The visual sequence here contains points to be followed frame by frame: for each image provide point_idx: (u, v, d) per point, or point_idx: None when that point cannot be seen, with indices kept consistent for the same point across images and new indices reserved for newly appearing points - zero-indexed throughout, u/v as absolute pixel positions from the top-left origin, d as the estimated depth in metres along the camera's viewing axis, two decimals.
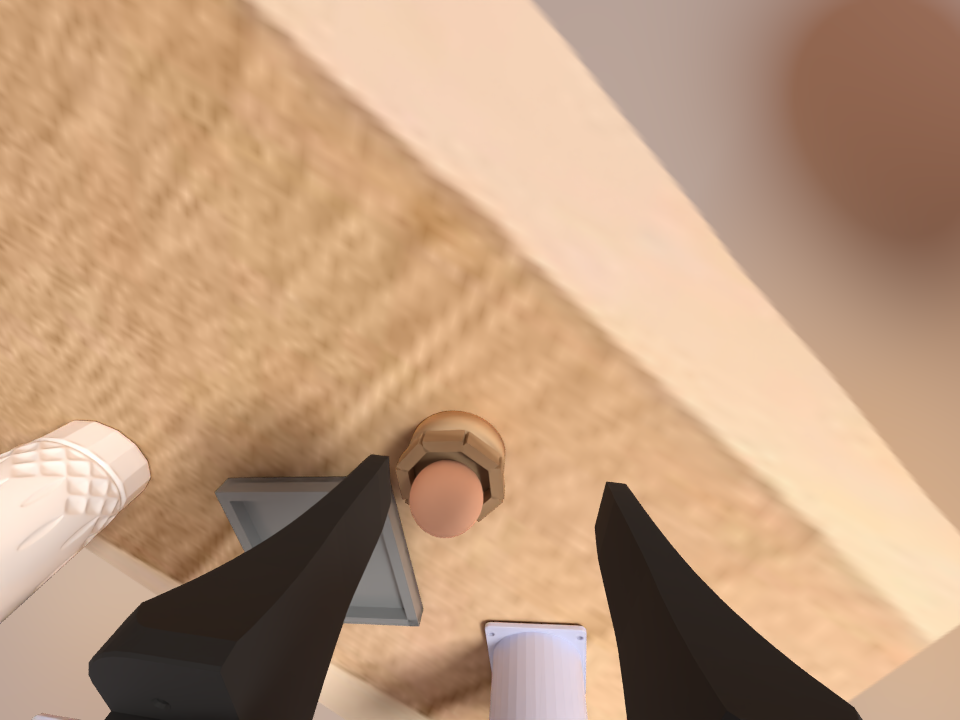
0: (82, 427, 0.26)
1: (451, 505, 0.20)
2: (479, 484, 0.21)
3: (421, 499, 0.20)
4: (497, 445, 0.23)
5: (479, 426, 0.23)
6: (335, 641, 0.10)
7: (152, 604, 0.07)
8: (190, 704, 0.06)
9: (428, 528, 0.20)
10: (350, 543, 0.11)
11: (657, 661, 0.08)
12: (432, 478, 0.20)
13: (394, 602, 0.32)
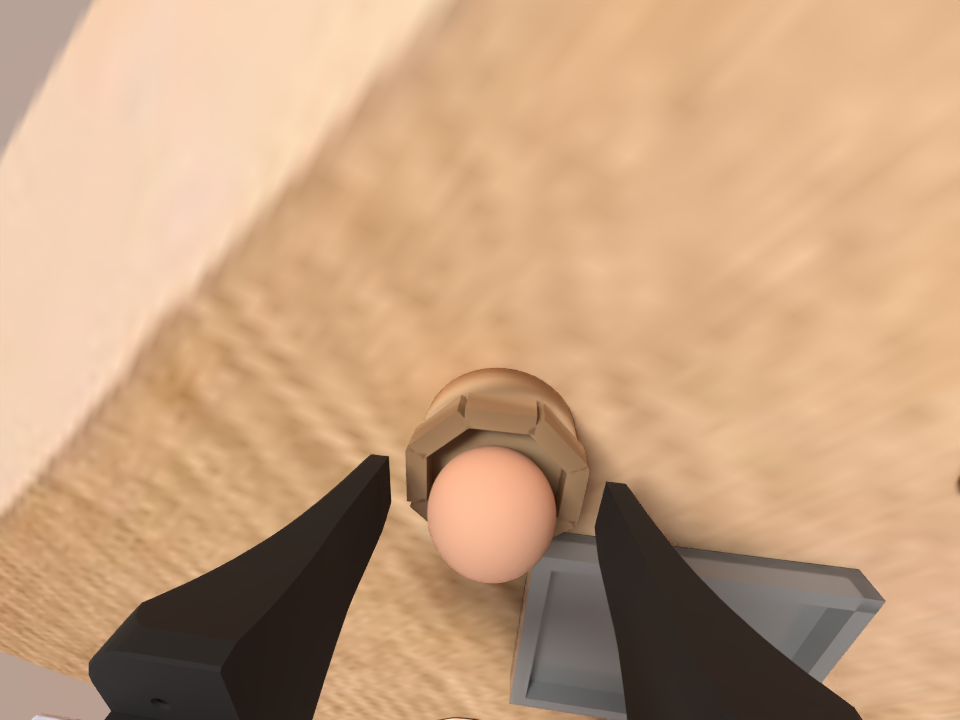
0: None
1: (451, 531, 0.11)
2: (475, 454, 0.12)
3: (445, 561, 0.12)
4: (467, 387, 0.14)
5: (435, 403, 0.15)
6: (335, 642, 0.10)
7: (152, 605, 0.07)
8: (190, 704, 0.06)
9: (491, 580, 0.11)
10: (350, 543, 0.11)
11: (657, 661, 0.08)
12: (428, 525, 0.12)
13: (811, 605, 0.18)
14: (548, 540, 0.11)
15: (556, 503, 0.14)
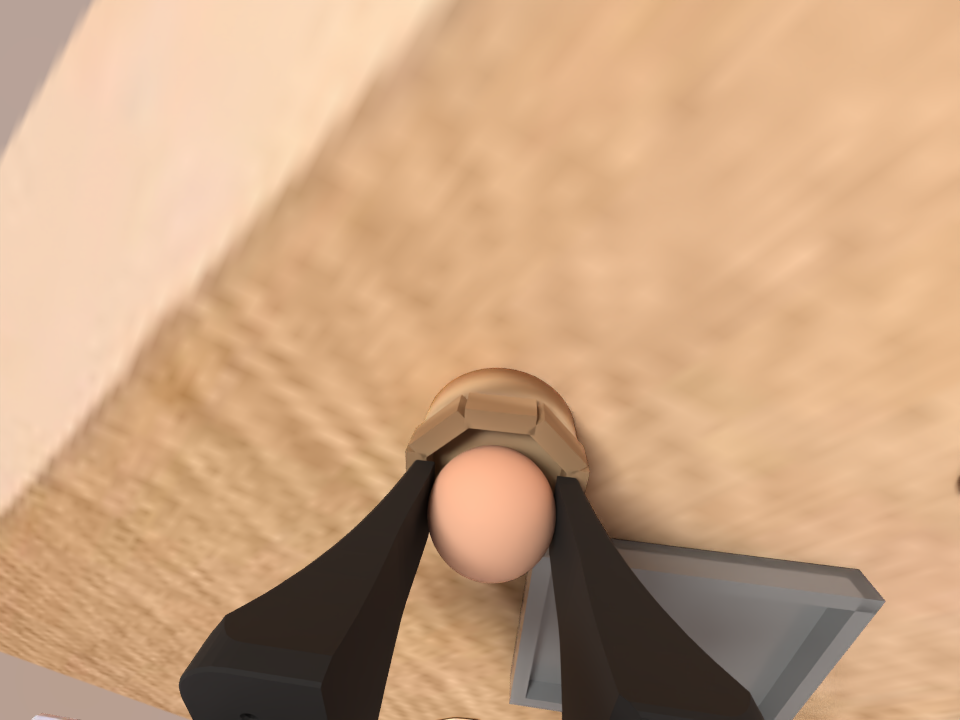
0: None
1: (450, 531, 0.11)
2: (475, 455, 0.12)
3: (445, 561, 0.12)
4: (467, 387, 0.14)
5: (435, 403, 0.15)
6: (392, 650, 0.10)
7: (237, 617, 0.07)
8: (281, 719, 0.06)
9: (491, 579, 0.11)
10: (406, 550, 0.11)
11: (581, 650, 0.08)
12: (428, 525, 0.12)
13: (811, 605, 0.18)
14: (548, 540, 0.11)
15: None
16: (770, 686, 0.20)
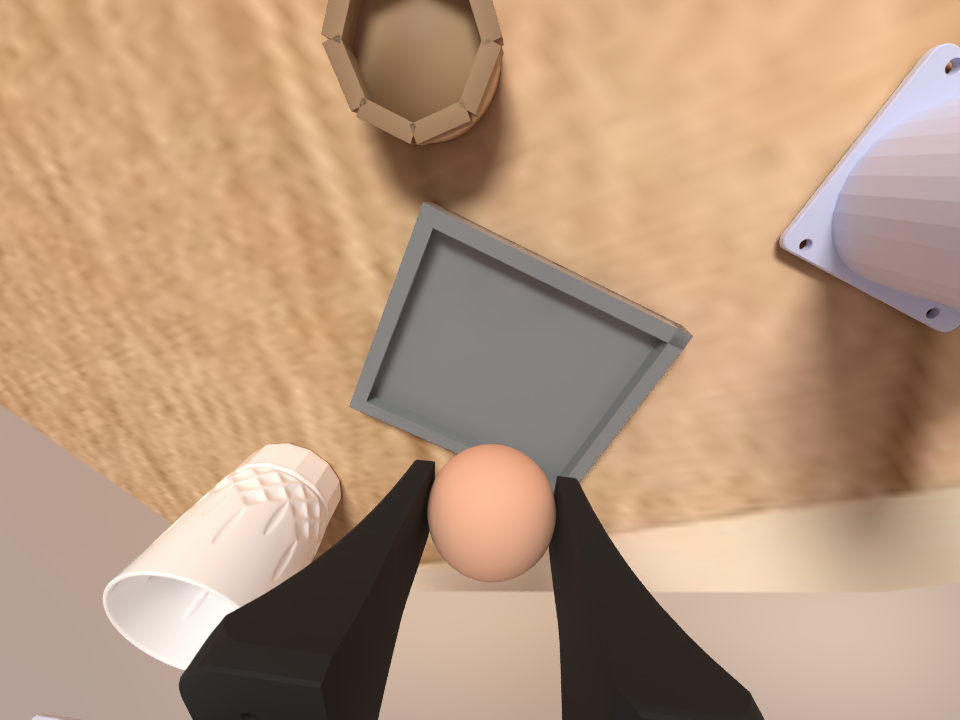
0: None
1: (450, 532, 0.11)
2: (472, 454, 0.12)
3: (447, 562, 0.12)
4: None
5: None
6: (392, 650, 0.10)
7: (237, 617, 0.07)
8: (281, 719, 0.06)
9: (493, 578, 0.11)
10: (406, 550, 0.11)
11: (581, 650, 0.08)
12: None
13: (636, 350, 0.20)
14: (548, 536, 0.11)
15: None
16: (581, 443, 0.23)
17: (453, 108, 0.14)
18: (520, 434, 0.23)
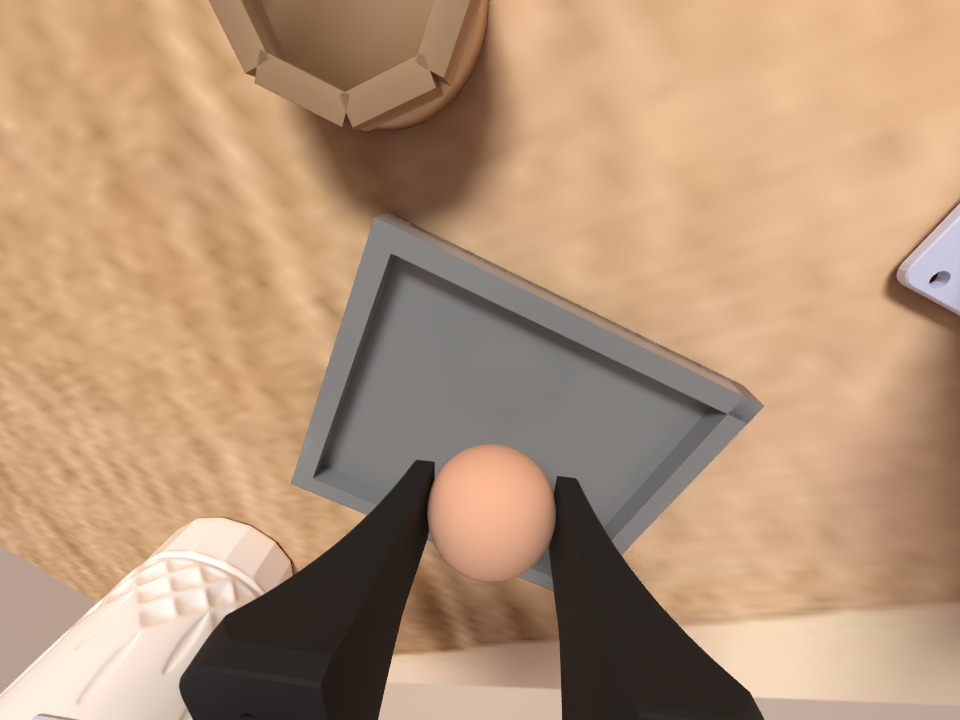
0: (167, 540, 0.20)
1: (450, 531, 0.11)
2: (472, 454, 0.12)
3: (447, 562, 0.12)
4: None
5: None
6: (392, 650, 0.10)
7: (237, 617, 0.07)
8: (281, 719, 0.06)
9: (493, 578, 0.11)
10: (406, 550, 0.11)
11: (581, 650, 0.08)
12: None
13: (679, 418, 0.15)
14: (548, 536, 0.11)
15: None
16: None
17: (407, 67, 0.09)
18: None
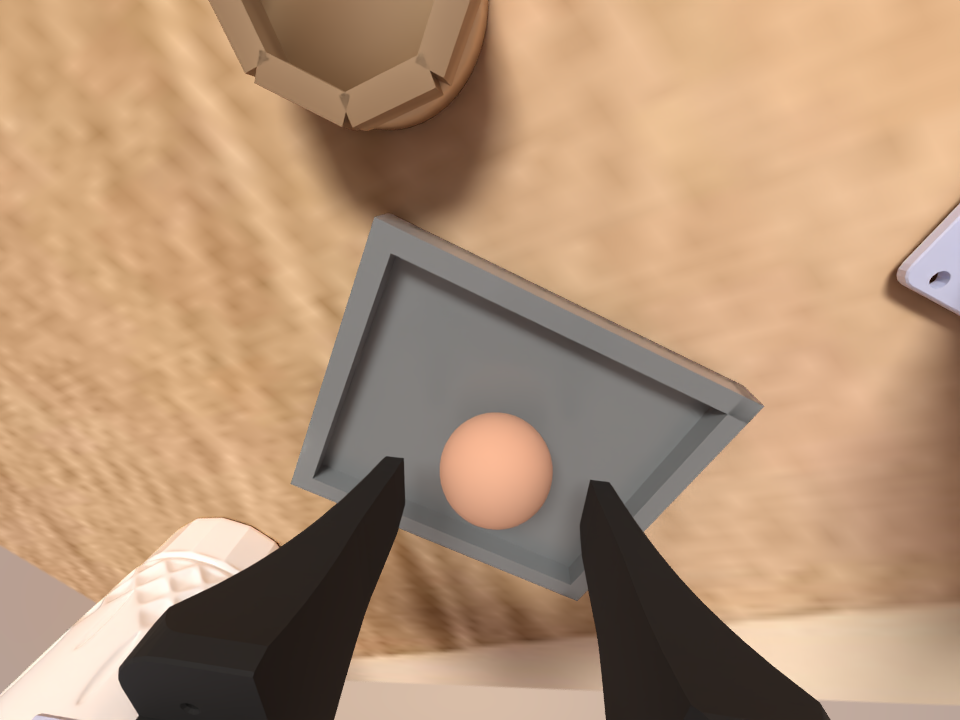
0: (167, 540, 0.20)
1: (461, 483, 0.13)
2: (479, 419, 0.14)
3: (457, 513, 0.13)
4: None
5: None
6: (354, 645, 0.10)
7: (180, 609, 0.07)
8: (220, 709, 0.06)
9: (498, 524, 0.13)
10: (368, 545, 0.11)
11: (632, 657, 0.08)
12: (441, 484, 0.14)
13: (679, 418, 0.15)
14: (546, 489, 0.13)
15: None
16: None
17: (407, 67, 0.09)
18: None
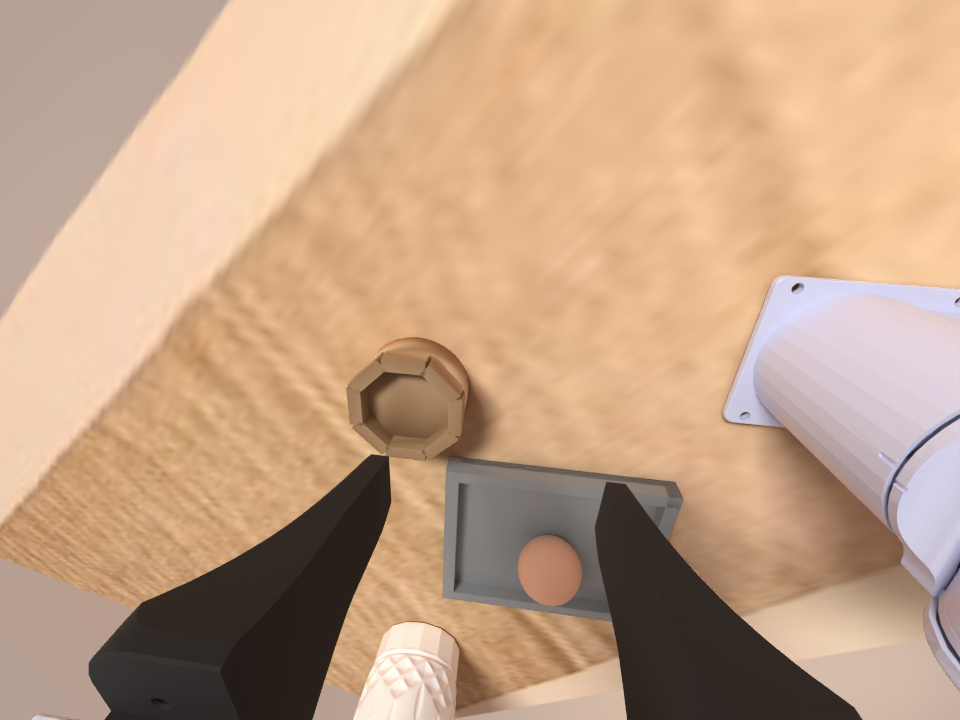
0: (381, 643, 0.34)
1: (531, 588, 0.24)
2: (530, 546, 0.25)
3: (536, 600, 0.25)
4: (389, 348, 0.21)
5: None
6: (335, 642, 0.10)
7: (152, 605, 0.07)
8: (190, 704, 0.06)
9: (557, 604, 0.24)
10: (350, 543, 0.11)
11: (657, 661, 0.08)
12: None
13: (645, 509, 0.25)
14: (577, 578, 0.24)
15: None
16: None
17: (445, 437, 0.21)
18: None
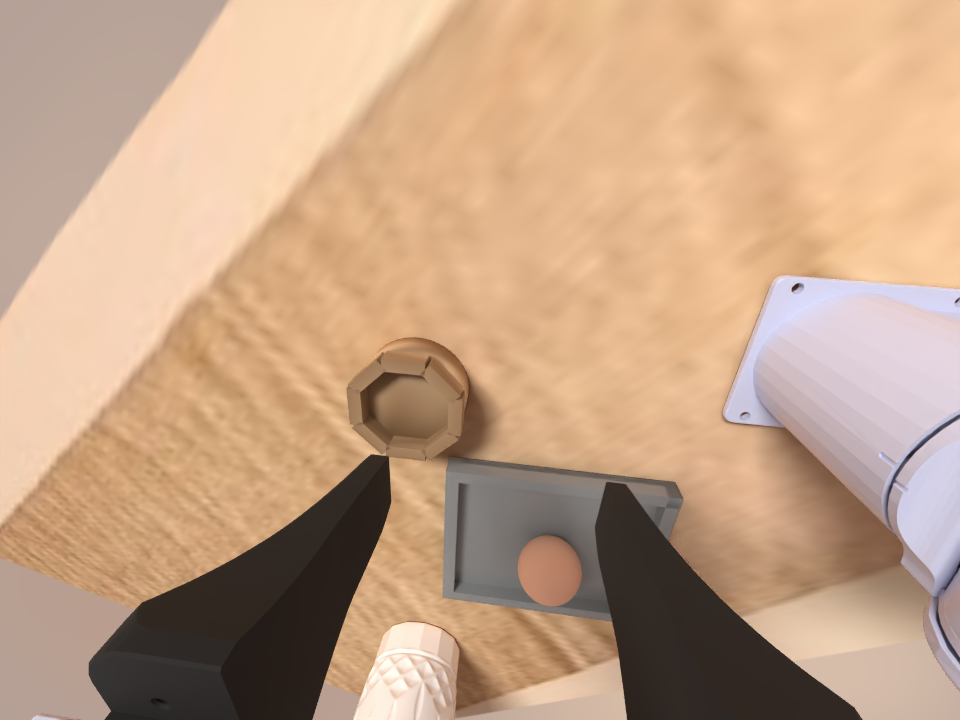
0: (381, 643, 0.33)
1: (530, 588, 0.24)
2: (530, 547, 0.25)
3: (535, 600, 0.25)
4: (389, 348, 0.21)
5: None
6: (335, 642, 0.10)
7: (152, 605, 0.07)
8: (190, 704, 0.06)
9: (557, 604, 0.24)
10: (350, 543, 0.11)
11: (657, 661, 0.08)
12: None
13: (645, 509, 0.25)
14: (577, 578, 0.24)
15: None
16: None
17: (445, 437, 0.21)
18: None
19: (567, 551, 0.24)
